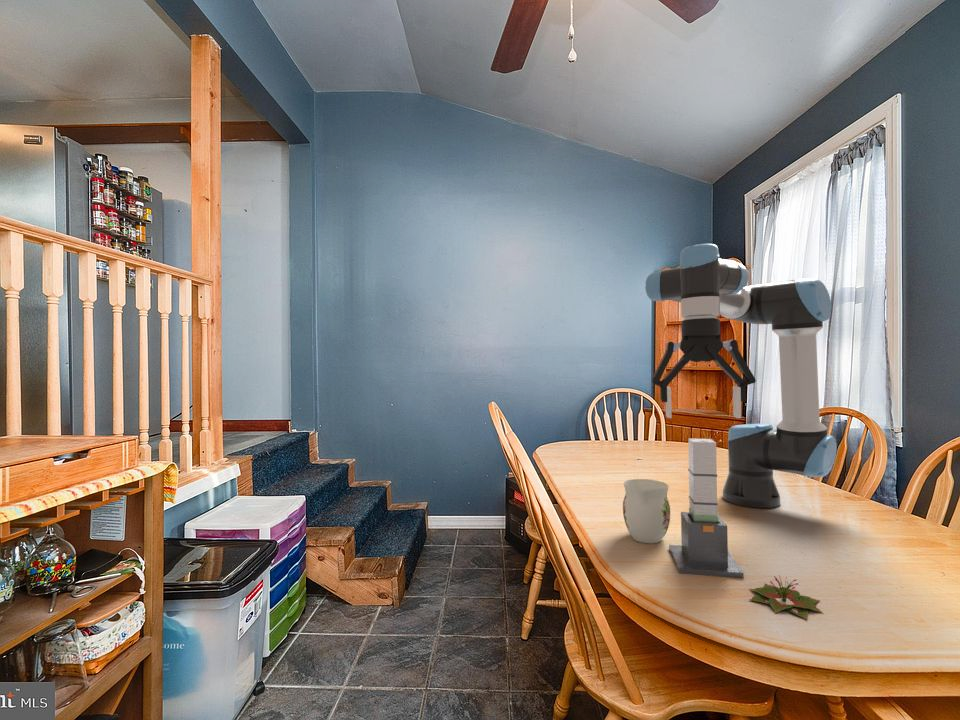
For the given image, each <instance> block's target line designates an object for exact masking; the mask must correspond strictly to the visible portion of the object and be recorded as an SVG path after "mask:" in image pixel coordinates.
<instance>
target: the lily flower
mask: <svg viewBox="0 0 960 720" xmlns="http://www.w3.org/2000/svg"><path fill="white" fill-rule="evenodd" d="M778 577H779V579H778V578H777V577H776V576H774V575H773V578H774V580H775V581H776V582H777V584H778V586H779V587H777V586H776V585H775V584H774V583H773V582H772V581H771V580H770V581H769V582H770V583H771V584H768V583H764V585H763V587H761V586H760V587H755V588H749V590H750V591H754V592H756V593H758V594H755V595H753V596H752V597H751V598H749V599H748V601H754V602H759V603H763V604H767V605H770V606H771V608H772V609H773V611H774V614H777V613H779V612H781V611H784V610H785V611H788V612H790V613H792V614H794V615H797V616H798V617H800V618H802V619H804V620H806V621H808V615H809V612H808V610H807V609H809V610H812V611H815V612H819V613H821V614H823V615H824V613H825V612H823V611H821V610H820V608H818V607H817V606H816V605H815V604H817V603H818V602H821V600H819V599H816V598H812V597H810V596H807V595H801V593H800V591H798V590H795V589H796V586H797V585H800V584H799V582H798V583H794V582H796V581H797V579H794V580H793V581H791V582H790V583H789V581H787V580H785V582H784V583H785V585H784V586H783V582H782V579H781V576H780V575H778ZM787 577H788V576H786V577H785V579H788V578H787ZM779 580H780V581H779ZM786 581H787V582H786ZM788 583H789V584H788ZM792 583H794V584H792ZM791 587H792V588H791ZM777 599H781V601H782V602H787V600H789V601H790V602H791V604H784V603H781V602H780V601H778V600H777ZM793 607H796V608H797V611H795V610H793V609H791V608H793Z"/></svg>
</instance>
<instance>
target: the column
mask: <svg viewBox="0 0 960 720" xmlns="http://www.w3.org/2000/svg"><path fill="white" fill-rule="evenodd" d="M687 441H688V469H687V470H688V490H689V491H688V493H689V494H688V495H689V496H688V498H689V501H688V502H689V507H688V512H689V514H690V520H691V521H692V522H698V523H716V524H717V522H718V515H719V514H718V505H719V504H718V486H717V485H718V483H717V481H718V479H717V477H718V474H717V442H716V441H714V439H712V438H688V439H687ZM717 514H718V515H717Z"/></svg>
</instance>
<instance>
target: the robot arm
mask: <svg viewBox="0 0 960 720" xmlns="http://www.w3.org/2000/svg"><path fill="white" fill-rule="evenodd" d="M720 256H721V255H720V252H719V248H718V245H716V244H714V243H700V244H693V245H689V246H686V247H684V248H683V249H682V250H681V251H680V256H679V266H678V267H675V268H674V267H673V268H669V269H661V270H658V271H654V272H652V273H651V272H650V273H649V275H648V276H647V277H646V278H645V279H646V280H645V294H646V296H647V298H648V299H650V301H653V302H665V301H672V302H676V303H680V317H681V318H682V319H683V320H682V321H681V341H680V342H673V341H667V342H666V344H665V351H664V354H663V357H662V358H661V360H660V362H659V364H658V366H657V367H656V370H655V372H654V374H653V376H652V378H651V381H650V382H651V384H653V385H656V386H658V387H659V389H660V390H659V392H660V393H659V397H660V401H661V402H662V403H665V417H666V418H667V419H673V418H672V416H673V415H672V414H673V413H672V388H671V387H670V386H668V385H669V384H670V383H672V381H673V380H674V379H675V378H676V377H677V375H678V374H679V373H680V372H681V371H682V369H684V367H685V366H686V365H687V364H688V363H689V362H693V363H700V362H704V363H705V362H706V363H708V362H709V363H710V362H712V361H713V362H714V363H715V364H717V366H718V367H720V369H721V370H722V371H723V372H724V373H725V374H726V375H727V376H728V377H729V378H730V379H731V380H732V381H733V383H735V384H736V385H735V386H734V385H733V386H732V415H733V416H732V417H734V418H736V419H742V403H744V402H745V403H746V400H747V395H746V394H747V393H746V392H747V391H746V390H747V388H746V387H748V386H749V385H752V384H755V383H756V381H757V380H756V378H755V376H754V374H753V373H752V371H751V369H750V368H749V366H748V364H747V362H746V360H745V359H744V357H743V355H742V354H741V352H740V350H739V344H738V343H739V342H738V341H737V339H729V340H726V341H722V339H721V319H719V318H718V317H719V316H721V317H723V318H725V319H729V320H732V321H736V322H741V323H746V324H752V325H753V324H754V325H771V331H772V332H774V333H775V334H776V336H778V348H779V352H778V353H779V373H780V392H781V393H780V394H781V397H780V399H781V417H782V418H781V421H780V422H779V423H777V424H776V429H774V426H773V425H772V424H771V423H745V424H737V425H732V426H731V427H730V428H729V429H728V433H727V434H728V436H727V437H728V438H727V449H728V453H727V454H728V458H727V459H728V474H727V477H726V479H725V482H724V486H723V488H722V499H723V500H725V501H726V502H728V503H731V504H735V505H738V506H740V507H741V506H742V507H749V508H757V509H770V508H771V509H773V508H776V507H779V506H781V495H780V492H779V489H778V487H777V484H776V482H775V480H774V471H776V472H783V473H787V474H789V473H790V474H795V475H800V476H804V477H812V478H813V477H815V478H824V477H825V476H827V475H828V474H829V473H830V472H831V471H832V469H833V466H834V463H835V461H836V460H835V459H836V457H837V447H838V443H837V439H836V438H835V437H834V436H833V435H831V434H828V428H827V426H826V425H825V424H823V423H822V422H821V421H820V418H821V417H820V399H819V397H820V395H819V394H820V393H819V371H818V347H817V334H818V332H820V331H821V330H822V329H823V327H824V325H823V323H824V322H825V321H828V320H829V319H830V318H831V315H832V302H831V296H830V293H829V291H828V288H827V287H826V285H825V284H824V283H823V282H822V280H820V279H819V278H815V277H814V278H797V279H792V280H785V281H778V282H768V283H760V284H754V285H747V284H748V282H749V276H750V275H749V272H748V269H747V268H746V266H744V265H743V263H740V262H738V261H736V260H733V259H724V258H723V259H722V258H720ZM723 347H724V348H725V351H728V352H729V354H730V356H731V358H732V359H733V361H734V363H735V365H736V366H737V369H738V370H739V372H740V373H741V375H742V377H743V378H742V377H741V375H740V374H739V373H738V372H737V371H736V370H735V369H734V368H733V367H732V366H731V365H730V364H729V363H728V362H727V361H726V360H725V358H724V357H723V356H722V355H721V354H720V352H721V350H722V349H723ZM678 349H679V350H681V353H683V355H682V356H681V358H680V359H679V360H678V361H677V362H676V364H675V365H673V367H672V368H671V369H670V370H669V372H668V373H667V374H666V375H665V376H664V377H663V378H662V376H663V374H664V372H665V370H666V369H667V366H668V364H669V363H670V360H671V359H672V356H673V353H676V352H677V350H678ZM661 379H662V380H661Z"/></svg>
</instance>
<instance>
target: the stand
mask: <svg viewBox="0 0 960 720" xmlns="http://www.w3.org/2000/svg"><path fill="white" fill-rule="evenodd" d="M717 515H718V522H717V524H716V523H698V522H692V521H691V520H690V514H689V511H680V522H681V523H680V528H681V529H680V531H681V536H680V537H681V539H680V540H681V545H677V544H676V545H675V544H669V545H668V547H669V552H670V555H671V556H672V559H673V562H674V563H675V567H676V569H677V571H678V573H679V574H688V575H689V574H690V575H699V576H700V575H701V576H702V575H703V576H711V577H715V576H716V577H727V578H740V579H744V578H745V577H744V575H745V574H744V572H743V570H742V568H741V567H740V566H739V565H738V563H737V562H736V560H735V559H734V557H733V556H732V555H731V553H730V552H729V550H728V549H729V548H728V547H729V546H728V524H727V523H726V522H725V521H724V520H723V519H722V517H721V516H720V515H719V514H718V513H717Z"/></svg>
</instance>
